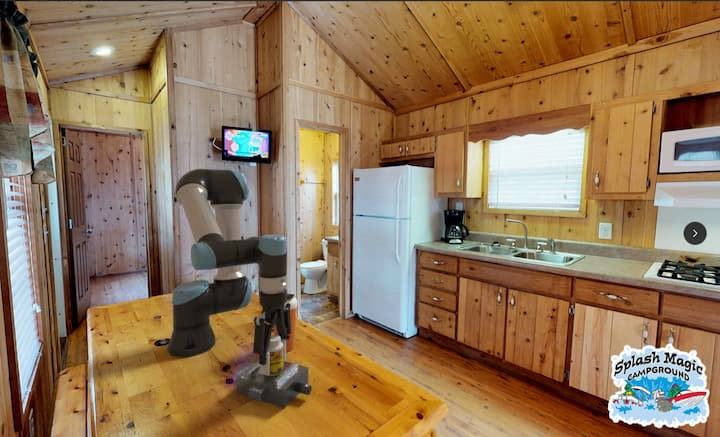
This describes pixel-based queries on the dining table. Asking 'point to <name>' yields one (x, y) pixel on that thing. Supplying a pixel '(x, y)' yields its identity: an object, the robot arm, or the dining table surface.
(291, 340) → the shaker bottle
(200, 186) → the robot arm
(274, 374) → the supplement bottle
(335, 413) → the dining table surface
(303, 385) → the motor block
